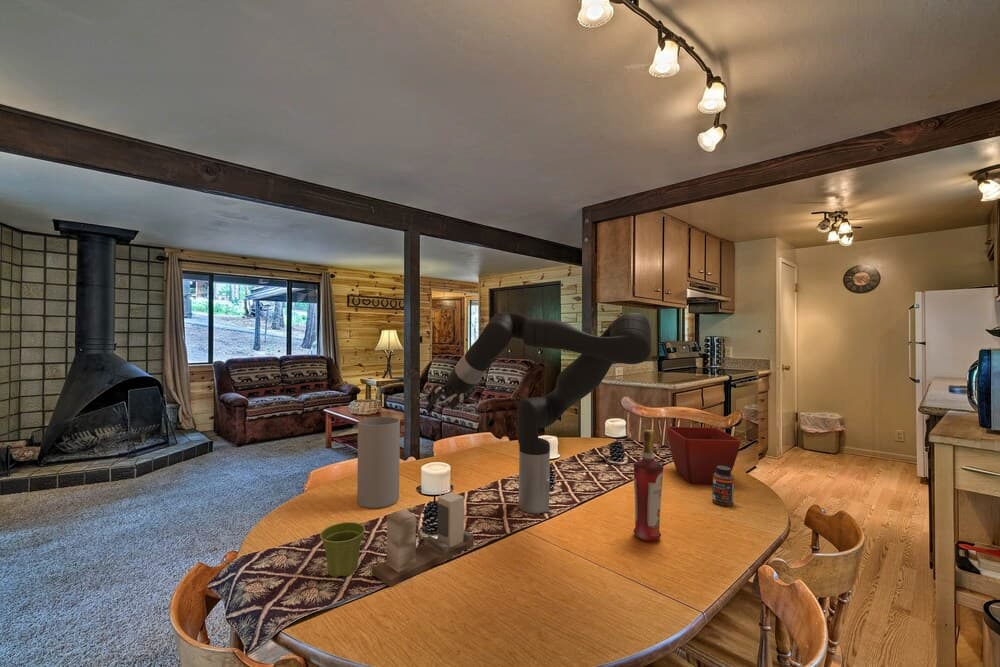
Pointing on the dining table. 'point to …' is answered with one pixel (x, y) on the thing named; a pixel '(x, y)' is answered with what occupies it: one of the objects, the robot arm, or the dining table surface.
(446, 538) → the block
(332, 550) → the plant pot
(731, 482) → the supplement bottle
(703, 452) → the plant pot
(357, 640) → the dining table surface
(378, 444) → the cylinder vase
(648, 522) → the liquor
